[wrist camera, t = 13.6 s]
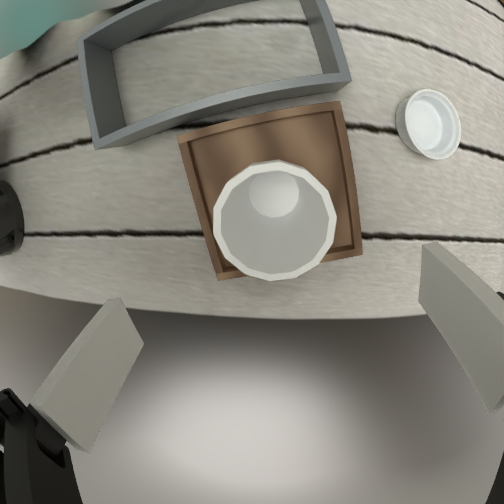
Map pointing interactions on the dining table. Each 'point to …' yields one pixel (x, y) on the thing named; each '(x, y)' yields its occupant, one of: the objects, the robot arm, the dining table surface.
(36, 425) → the robot arm
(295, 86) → the deep open rectangular frame
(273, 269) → the foam cup
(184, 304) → the dining table surface
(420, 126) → the ramekin
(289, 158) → the walnut tray
